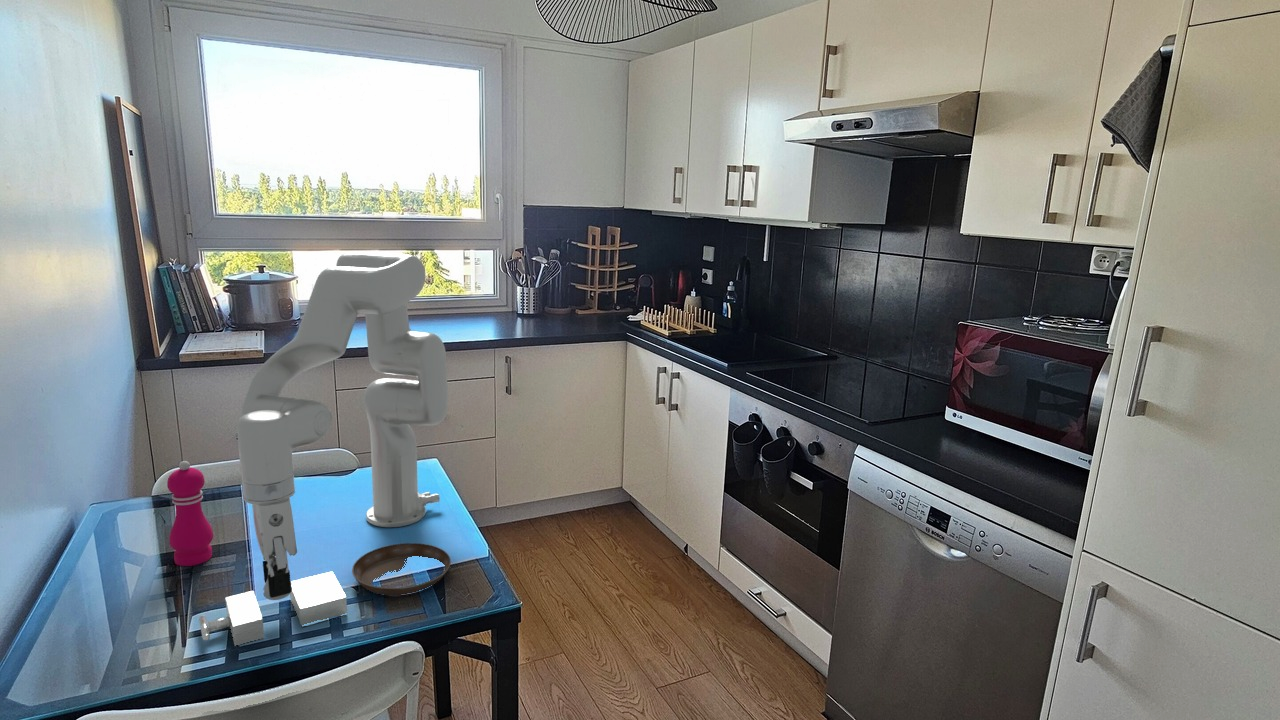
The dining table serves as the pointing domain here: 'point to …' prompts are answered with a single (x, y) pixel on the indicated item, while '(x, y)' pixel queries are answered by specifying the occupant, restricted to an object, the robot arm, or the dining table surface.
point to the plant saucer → (395, 565)
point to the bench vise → (308, 598)
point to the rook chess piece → (266, 587)
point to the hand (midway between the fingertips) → (277, 586)
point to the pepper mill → (189, 517)
